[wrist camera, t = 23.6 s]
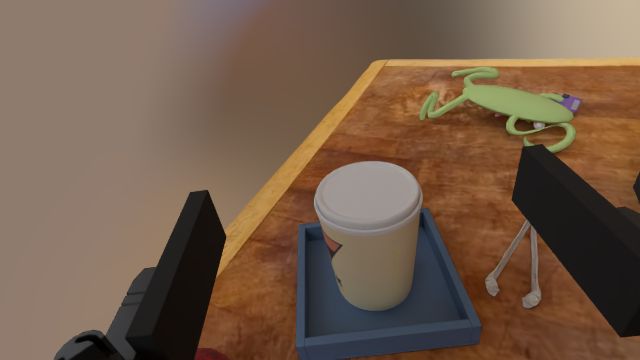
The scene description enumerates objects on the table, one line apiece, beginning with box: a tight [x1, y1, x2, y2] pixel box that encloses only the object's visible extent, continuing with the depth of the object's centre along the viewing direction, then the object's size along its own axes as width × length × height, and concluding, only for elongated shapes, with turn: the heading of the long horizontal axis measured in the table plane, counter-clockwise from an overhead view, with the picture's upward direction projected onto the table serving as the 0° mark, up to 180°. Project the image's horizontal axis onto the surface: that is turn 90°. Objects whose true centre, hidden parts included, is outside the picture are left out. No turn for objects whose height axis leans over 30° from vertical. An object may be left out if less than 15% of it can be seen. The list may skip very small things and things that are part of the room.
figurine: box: [419, 67, 583, 153], centre depth 61 cm, size 18×27×6 cm
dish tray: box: [296, 208, 482, 360], centre depth 37 cm, size 16×16×3 cm
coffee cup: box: [314, 161, 423, 311], centre depth 34 cm, size 9×9×12 cm
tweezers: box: [485, 219, 541, 308], centre depth 39 cm, size 18×5×2 cm, turn 146°
